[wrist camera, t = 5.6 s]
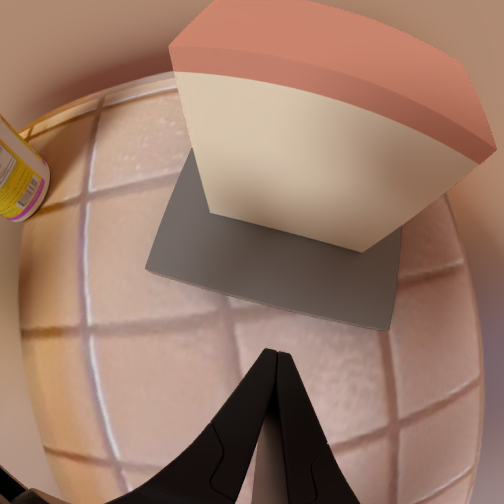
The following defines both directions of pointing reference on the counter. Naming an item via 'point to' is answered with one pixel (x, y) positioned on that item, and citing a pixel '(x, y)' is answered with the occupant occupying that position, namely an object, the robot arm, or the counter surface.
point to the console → (273, 262)
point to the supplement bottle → (20, 175)
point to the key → (323, 119)
